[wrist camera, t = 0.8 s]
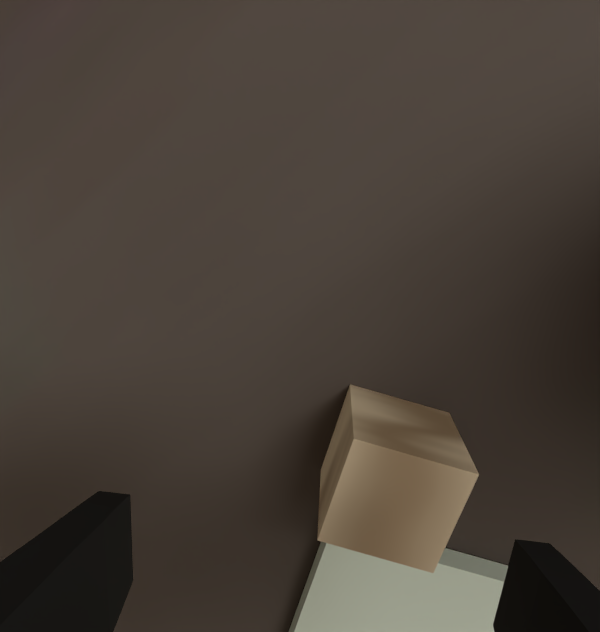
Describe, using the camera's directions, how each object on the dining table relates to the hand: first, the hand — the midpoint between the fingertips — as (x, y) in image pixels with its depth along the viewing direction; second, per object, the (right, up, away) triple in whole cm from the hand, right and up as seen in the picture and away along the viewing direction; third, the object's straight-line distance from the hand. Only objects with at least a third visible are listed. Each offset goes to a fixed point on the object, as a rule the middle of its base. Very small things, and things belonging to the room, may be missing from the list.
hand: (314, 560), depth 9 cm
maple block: (+3, 0, +10) cm, 10 cm away
